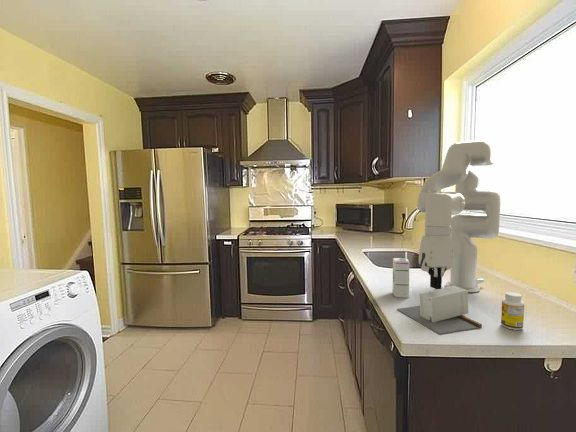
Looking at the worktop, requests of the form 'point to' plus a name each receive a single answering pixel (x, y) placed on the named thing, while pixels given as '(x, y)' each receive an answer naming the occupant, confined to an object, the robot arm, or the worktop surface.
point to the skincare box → (443, 303)
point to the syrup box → (401, 277)
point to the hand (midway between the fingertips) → (435, 287)
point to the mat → (438, 322)
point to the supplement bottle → (512, 311)
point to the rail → (470, 321)
